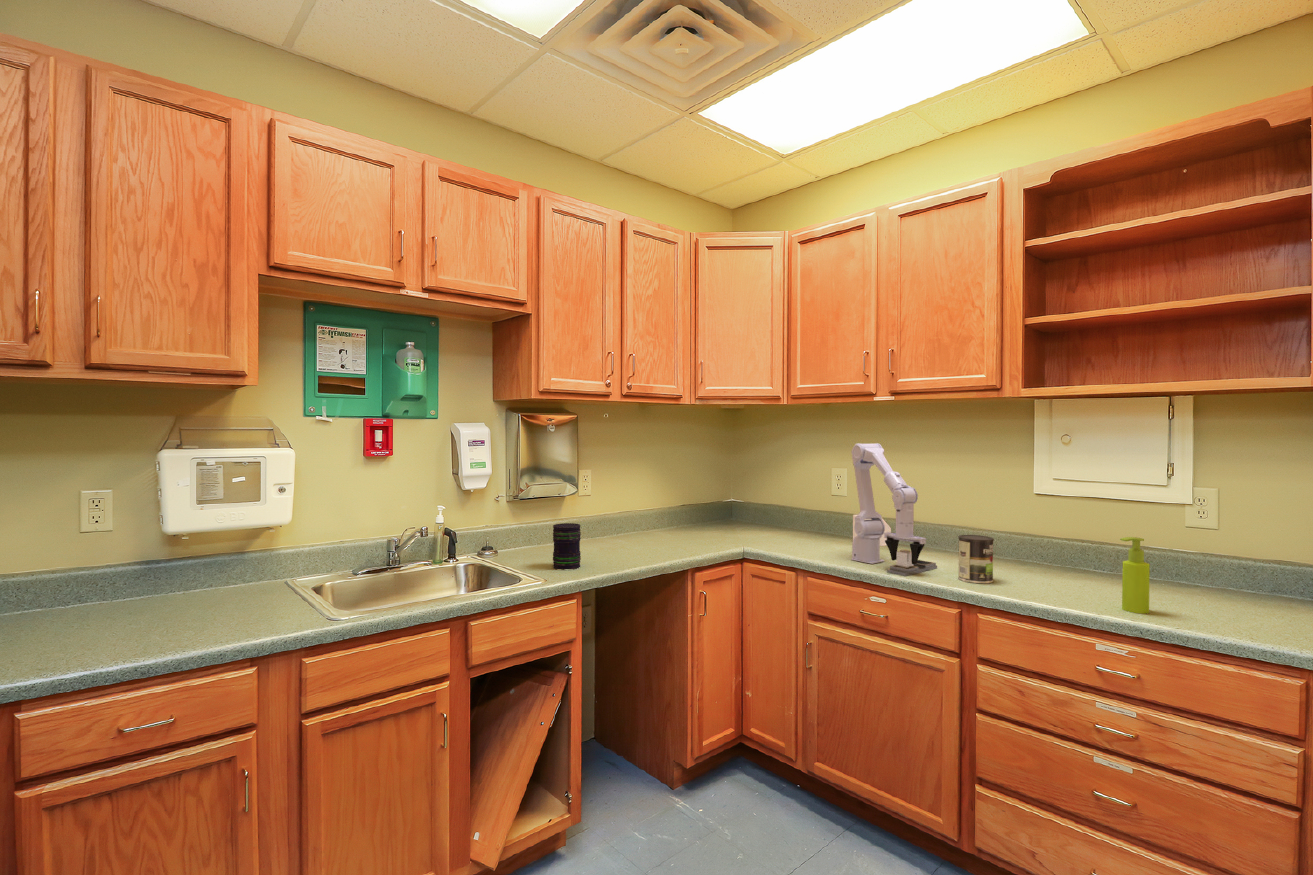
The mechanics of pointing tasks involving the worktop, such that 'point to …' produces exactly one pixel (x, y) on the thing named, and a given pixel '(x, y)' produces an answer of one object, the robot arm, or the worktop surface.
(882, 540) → the corner bracket
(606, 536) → the worktop surface
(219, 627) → the worktop surface
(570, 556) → the storage jar
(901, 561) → the block
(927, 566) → the rail
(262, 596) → the worktop surface
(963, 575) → the coffee can
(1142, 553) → the soap dispenser
